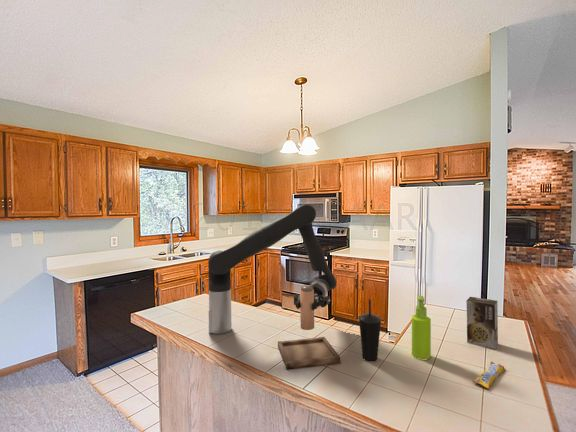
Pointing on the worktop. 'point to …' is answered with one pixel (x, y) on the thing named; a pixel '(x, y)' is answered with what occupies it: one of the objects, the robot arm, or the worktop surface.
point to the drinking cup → (369, 334)
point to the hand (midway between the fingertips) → (305, 306)
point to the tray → (307, 353)
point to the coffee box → (482, 322)
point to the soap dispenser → (421, 332)
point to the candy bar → (489, 375)
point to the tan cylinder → (306, 307)
